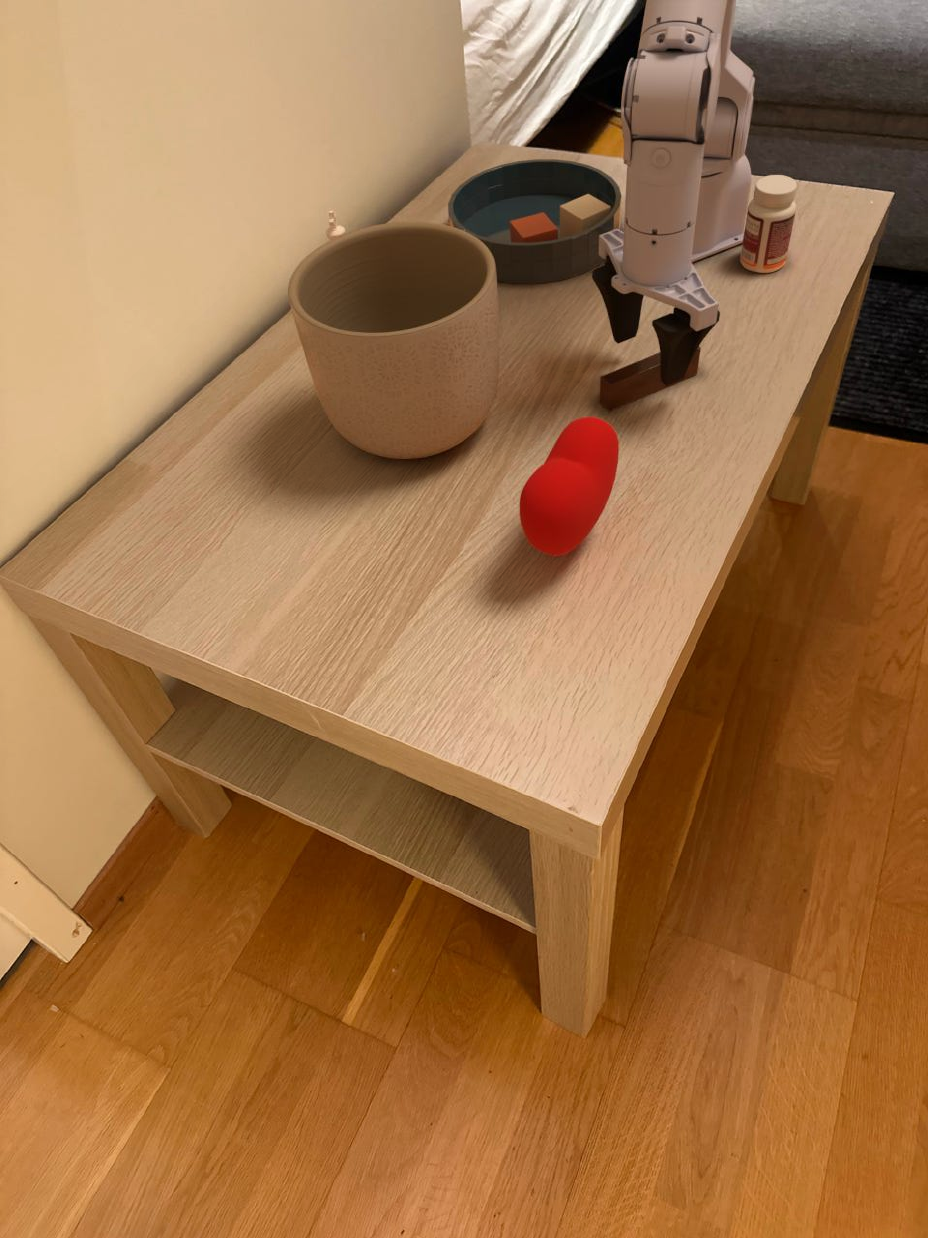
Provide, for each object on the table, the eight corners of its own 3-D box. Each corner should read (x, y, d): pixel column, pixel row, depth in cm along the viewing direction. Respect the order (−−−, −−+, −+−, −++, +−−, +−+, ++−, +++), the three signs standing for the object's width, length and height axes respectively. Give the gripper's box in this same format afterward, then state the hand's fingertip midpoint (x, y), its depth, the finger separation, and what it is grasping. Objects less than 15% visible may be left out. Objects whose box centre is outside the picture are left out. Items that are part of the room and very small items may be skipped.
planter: (476, 497, 77) (460, 346, 65) (297, 470, 81) (252, 324, 70) (525, 377, 87) (519, 227, 75) (364, 359, 91) (334, 214, 79)
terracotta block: (544, 246, 101) (543, 211, 97) (558, 263, 98) (558, 228, 95) (511, 255, 100) (509, 220, 97) (524, 272, 98) (523, 237, 94)
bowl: (562, 180, 111) (562, 143, 107) (653, 246, 100) (656, 207, 96) (424, 229, 106) (419, 192, 103) (503, 304, 95) (500, 264, 92)
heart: (570, 488, 77) (570, 393, 69) (629, 506, 75) (636, 411, 67) (507, 582, 71) (500, 489, 63) (569, 604, 69) (569, 512, 61)
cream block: (587, 227, 102) (588, 193, 99) (609, 241, 100) (611, 206, 97) (559, 240, 101) (559, 205, 98) (581, 254, 99) (581, 219, 96)
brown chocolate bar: (687, 365, 86) (690, 338, 84) (697, 374, 85) (701, 347, 83) (599, 402, 84) (600, 376, 81) (608, 412, 83) (609, 385, 80)
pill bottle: (787, 252, 97) (804, 173, 90) (782, 276, 94) (798, 197, 87) (742, 248, 98) (755, 170, 91) (736, 271, 95) (748, 193, 89)
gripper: (570, 196, 76) (569, 335, 86) (673, 272, 67) (658, 416, 78) (639, 171, 77) (631, 310, 88) (748, 242, 69) (724, 387, 80)
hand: (648, 358), depth 83 cm, fingers open, 7 cm apart
